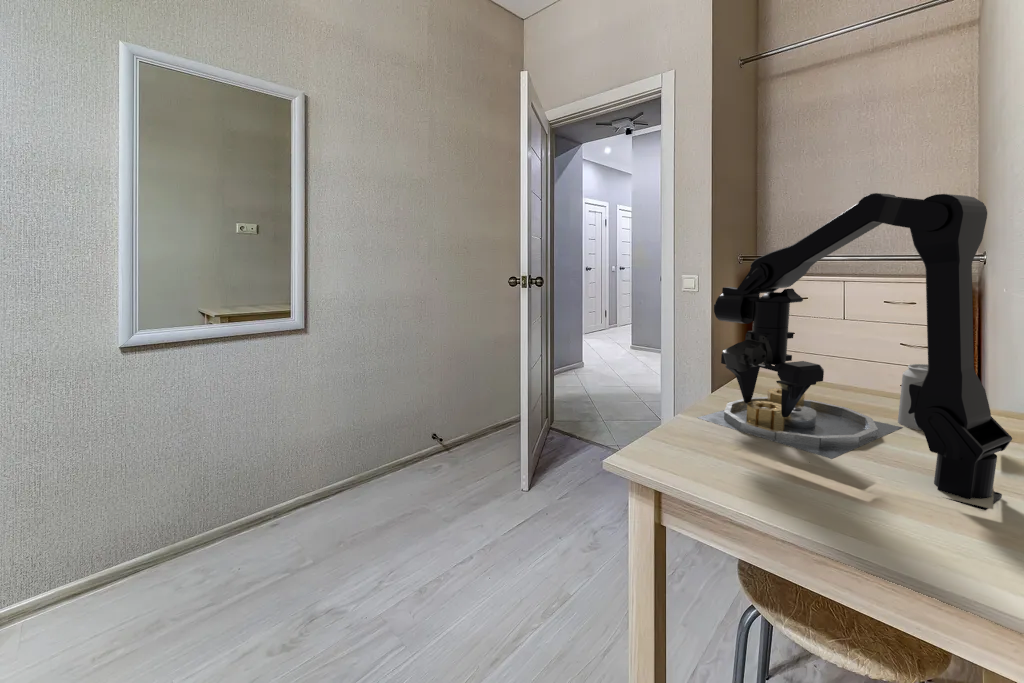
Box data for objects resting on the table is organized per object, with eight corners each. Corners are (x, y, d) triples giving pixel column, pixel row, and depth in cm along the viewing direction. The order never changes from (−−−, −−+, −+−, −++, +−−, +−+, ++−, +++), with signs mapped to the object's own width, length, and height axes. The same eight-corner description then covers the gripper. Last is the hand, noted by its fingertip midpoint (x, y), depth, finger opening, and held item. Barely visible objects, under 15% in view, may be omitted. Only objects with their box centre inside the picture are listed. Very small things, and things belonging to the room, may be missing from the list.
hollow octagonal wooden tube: (792, 429, 88) (793, 408, 88) (763, 433, 87) (764, 412, 86) (766, 419, 94) (767, 399, 93) (739, 423, 93) (740, 402, 92)
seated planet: (791, 418, 95) (792, 398, 94) (761, 410, 100) (762, 391, 99) (808, 412, 98) (810, 393, 97) (778, 405, 103) (779, 386, 102)
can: (960, 438, 85) (969, 371, 83) (911, 436, 86) (919, 370, 84) (933, 424, 92) (940, 362, 90) (888, 422, 94) (894, 362, 92)
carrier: (831, 464, 75) (833, 437, 75) (696, 422, 97) (697, 400, 96) (902, 432, 88) (904, 408, 87) (769, 401, 109) (770, 382, 109)
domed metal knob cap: (803, 430, 88) (804, 416, 87) (768, 421, 93) (769, 407, 93) (822, 423, 91) (823, 409, 91) (787, 414, 97) (788, 401, 96)
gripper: (699, 323, 94) (696, 400, 97) (773, 336, 77) (767, 430, 79) (747, 320, 97) (743, 395, 100) (829, 331, 79) (822, 423, 82)
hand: (765, 409), depth 90 cm, fingers open, 9 cm apart
